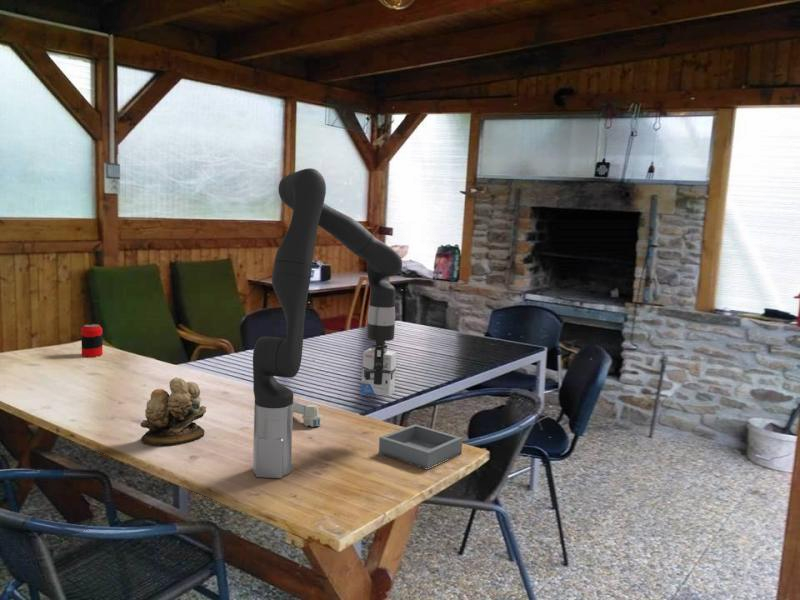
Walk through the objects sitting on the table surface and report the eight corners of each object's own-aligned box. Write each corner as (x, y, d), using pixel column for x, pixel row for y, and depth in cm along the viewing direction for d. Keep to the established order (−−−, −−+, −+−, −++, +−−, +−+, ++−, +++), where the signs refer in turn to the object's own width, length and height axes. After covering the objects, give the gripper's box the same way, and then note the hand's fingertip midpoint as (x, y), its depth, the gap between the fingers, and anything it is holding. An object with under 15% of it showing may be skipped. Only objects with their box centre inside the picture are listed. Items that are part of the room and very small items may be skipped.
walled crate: (461, 453, 191) (462, 438, 190) (427, 469, 178) (428, 452, 177) (414, 439, 200) (415, 424, 200) (378, 453, 188) (379, 437, 187)
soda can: (99, 352, 282) (98, 323, 280) (105, 356, 276) (105, 326, 275) (79, 354, 277) (78, 324, 276) (85, 358, 272) (84, 327, 270)
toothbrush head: (282, 393, 226) (324, 402, 207) (282, 413, 226) (325, 424, 207) (267, 395, 223) (309, 404, 203) (268, 416, 223) (310, 427, 204)
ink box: (360, 392, 195) (362, 351, 194) (366, 388, 200) (368, 347, 198) (389, 396, 193) (391, 354, 191) (394, 392, 198) (397, 351, 196)
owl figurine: (195, 426, 202) (196, 368, 199) (215, 438, 193) (217, 377, 191) (133, 437, 190) (134, 376, 187) (151, 450, 181) (152, 386, 179)
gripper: (394, 327, 187) (391, 388, 189) (395, 318, 201) (391, 376, 203) (366, 325, 187) (363, 387, 189) (369, 317, 201) (366, 374, 203)
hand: (378, 381), depth 196 cm, fingers closed on ink box, 6 cm apart
